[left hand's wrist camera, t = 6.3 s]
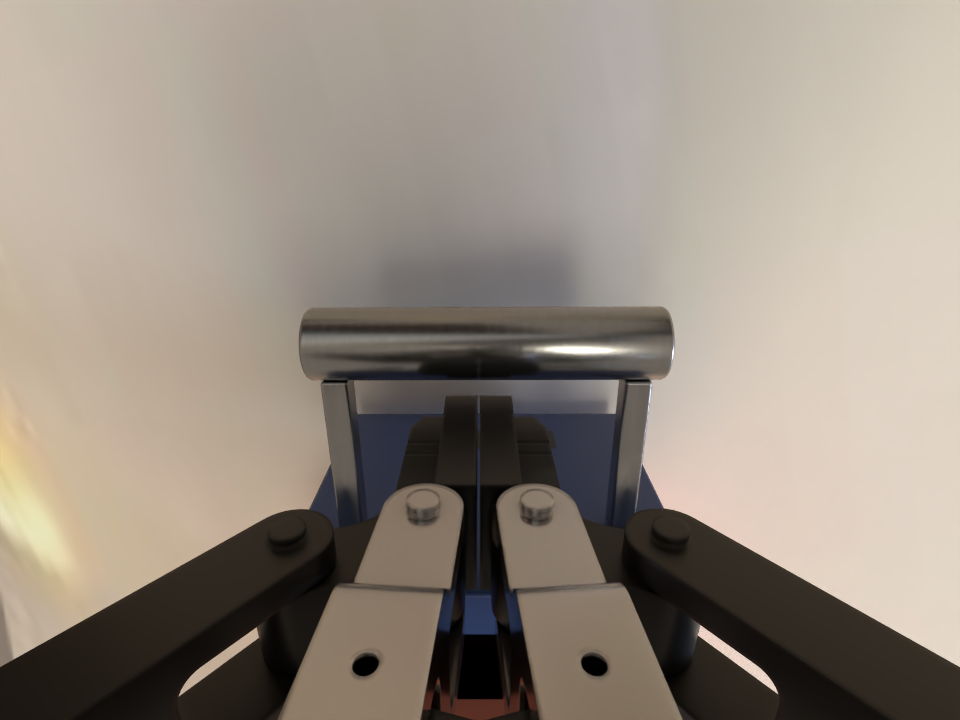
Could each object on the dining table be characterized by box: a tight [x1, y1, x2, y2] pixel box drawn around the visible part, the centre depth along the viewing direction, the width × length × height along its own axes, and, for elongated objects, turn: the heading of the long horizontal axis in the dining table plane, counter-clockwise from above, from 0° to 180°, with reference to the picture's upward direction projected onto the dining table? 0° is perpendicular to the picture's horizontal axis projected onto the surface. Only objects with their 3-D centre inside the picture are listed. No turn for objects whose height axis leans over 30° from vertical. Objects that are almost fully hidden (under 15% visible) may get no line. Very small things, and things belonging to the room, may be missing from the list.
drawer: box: [299, 307, 700, 699], centre depth 17 cm, size 23×9×8 cm, turn 0°
